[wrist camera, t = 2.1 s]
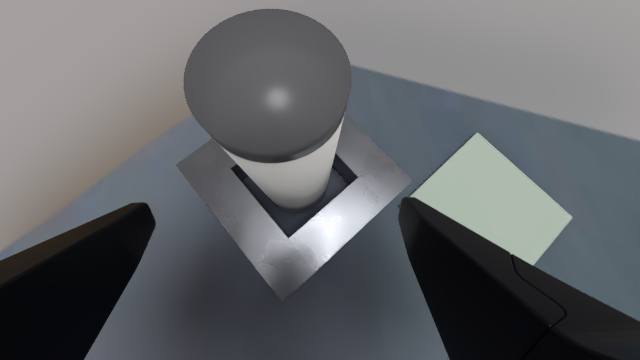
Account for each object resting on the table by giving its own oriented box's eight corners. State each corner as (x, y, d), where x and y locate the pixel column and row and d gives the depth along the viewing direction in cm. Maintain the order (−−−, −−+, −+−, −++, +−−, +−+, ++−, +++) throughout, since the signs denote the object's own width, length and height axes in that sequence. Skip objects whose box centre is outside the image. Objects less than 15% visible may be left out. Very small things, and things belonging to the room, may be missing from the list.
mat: (567, 217, 20) (572, 217, 20) (494, 306, 18) (498, 307, 18) (474, 134, 22) (477, 132, 21) (398, 206, 20) (400, 205, 20)
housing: (398, 190, 20) (412, 180, 17) (287, 293, 18) (282, 302, 15) (305, 94, 22) (304, 72, 19) (195, 176, 20) (175, 164, 17)
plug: (339, 186, 20) (385, 82, 7) (293, 226, 19) (252, 188, 6) (300, 144, 21) (281, -15, 8) (255, 180, 20) (150, 65, 7)
